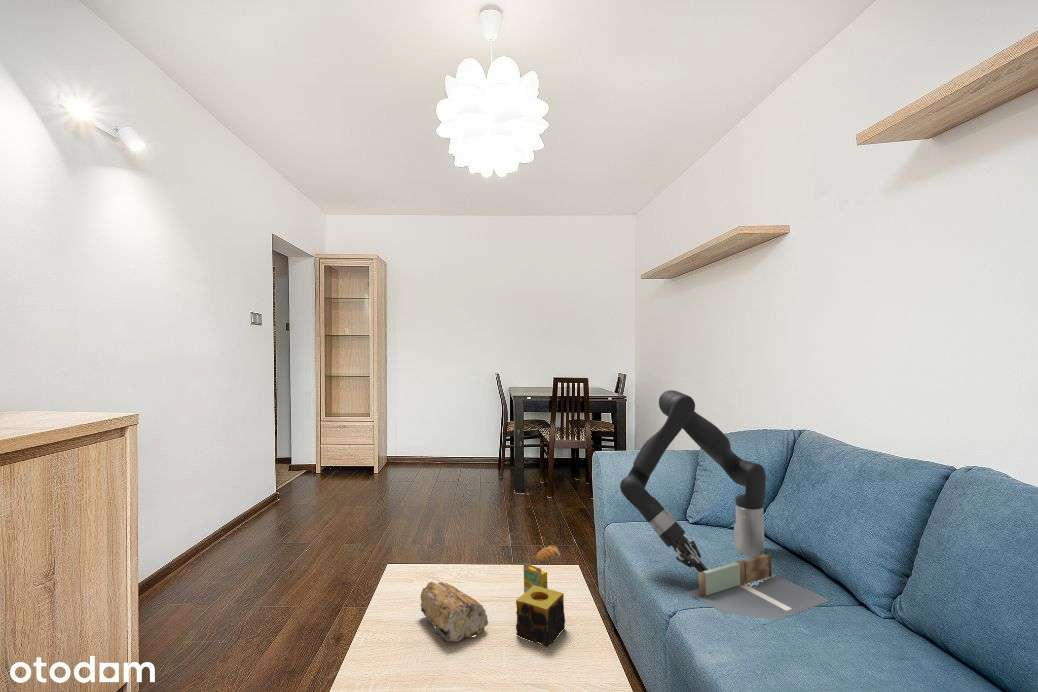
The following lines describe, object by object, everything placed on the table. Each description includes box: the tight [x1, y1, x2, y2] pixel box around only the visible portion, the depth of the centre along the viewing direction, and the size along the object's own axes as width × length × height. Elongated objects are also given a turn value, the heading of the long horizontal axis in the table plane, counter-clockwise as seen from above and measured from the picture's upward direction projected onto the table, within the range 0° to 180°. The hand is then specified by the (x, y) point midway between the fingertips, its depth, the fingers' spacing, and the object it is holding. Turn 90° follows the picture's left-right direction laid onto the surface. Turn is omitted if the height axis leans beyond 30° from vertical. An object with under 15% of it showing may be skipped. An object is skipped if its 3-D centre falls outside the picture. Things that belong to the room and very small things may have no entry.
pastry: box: [534, 545, 561, 564], centre depth 182 cm, size 9×7×4 cm
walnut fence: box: [741, 552, 773, 584], centre depth 162 cm, size 12×2×7 cm, turn 115°
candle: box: [515, 585, 566, 648], centre depth 136 cm, size 10×10×10 cm
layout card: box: [688, 574, 831, 621], centre depth 151 cm, size 23×33×1 cm
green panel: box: [697, 560, 745, 597], centre depth 155 cm, size 18×2×7 cm, turn 115°
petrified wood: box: [420, 581, 489, 642], centre depth 141 cm, size 19×13×10 cm
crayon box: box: [523, 562, 549, 594], centre depth 152 cm, size 7×3×12 cm, turn 47°
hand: (706, 574), depth 155 cm, fingers closed
